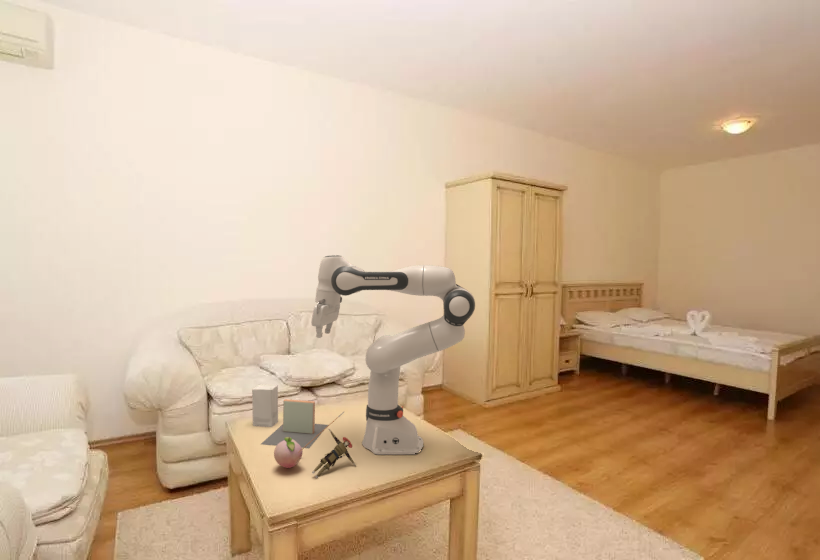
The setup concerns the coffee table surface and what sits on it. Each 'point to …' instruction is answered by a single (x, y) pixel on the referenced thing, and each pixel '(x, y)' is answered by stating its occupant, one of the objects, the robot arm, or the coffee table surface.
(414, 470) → the coffee table surface
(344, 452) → the samurai figurine
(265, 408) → the skincare box
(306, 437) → the mat
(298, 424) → the tile
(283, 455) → the decorative fruit
